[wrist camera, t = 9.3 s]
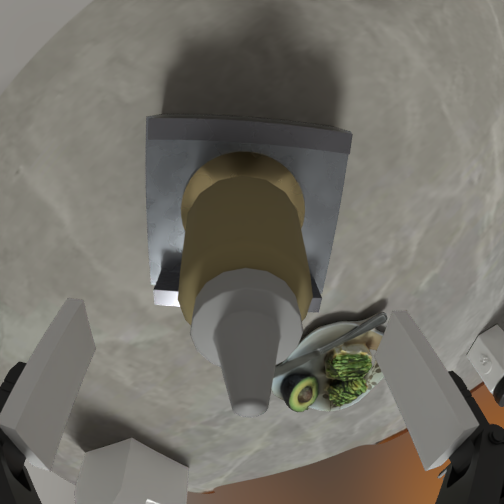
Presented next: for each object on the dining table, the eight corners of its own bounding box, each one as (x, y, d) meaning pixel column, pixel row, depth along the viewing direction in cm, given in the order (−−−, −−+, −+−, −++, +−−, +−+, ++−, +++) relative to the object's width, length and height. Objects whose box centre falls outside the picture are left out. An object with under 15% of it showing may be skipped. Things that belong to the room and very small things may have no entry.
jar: (482, 324, 41) (520, 372, 30) (508, 322, 42) (544, 365, 31) (459, 364, 45) (489, 413, 34) (486, 360, 45) (515, 403, 35)
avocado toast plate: (333, 279, 35) (345, 302, 31) (422, 329, 40) (436, 350, 36) (246, 380, 42) (247, 406, 38) (338, 408, 47) (344, 430, 43)
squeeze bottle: (241, 143, 23) (248, 246, 7) (312, 214, 26) (409, 388, 10) (171, 216, 25) (87, 397, 9) (243, 276, 28) (251, 473, 12)
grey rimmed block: (161, 259, 33) (143, 303, 26) (161, 114, 26) (134, 118, 19) (311, 267, 34) (329, 312, 27) (333, 126, 28) (365, 136, 20)
